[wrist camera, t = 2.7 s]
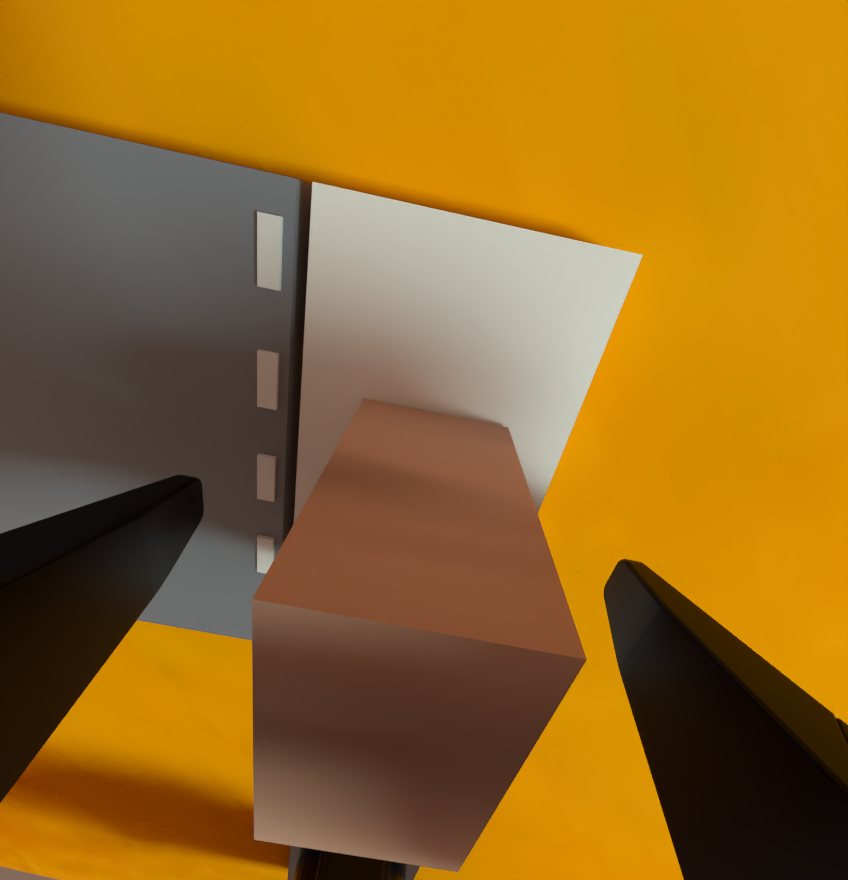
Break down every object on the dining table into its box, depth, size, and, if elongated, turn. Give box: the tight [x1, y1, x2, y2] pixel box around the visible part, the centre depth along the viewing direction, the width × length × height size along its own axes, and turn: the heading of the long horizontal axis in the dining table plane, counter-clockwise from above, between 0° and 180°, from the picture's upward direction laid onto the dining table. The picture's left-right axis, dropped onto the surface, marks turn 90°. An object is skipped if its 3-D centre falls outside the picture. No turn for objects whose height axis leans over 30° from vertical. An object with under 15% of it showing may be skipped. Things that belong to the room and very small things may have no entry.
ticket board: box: [0, 113, 312, 640], centre depth 9 cm, size 12×12×1 cm
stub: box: [252, 182, 643, 872], centre depth 7 cm, size 12×6×6 cm, turn 169°
